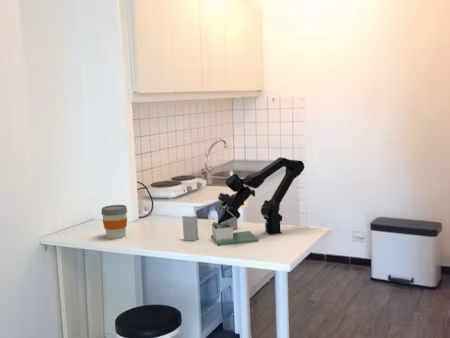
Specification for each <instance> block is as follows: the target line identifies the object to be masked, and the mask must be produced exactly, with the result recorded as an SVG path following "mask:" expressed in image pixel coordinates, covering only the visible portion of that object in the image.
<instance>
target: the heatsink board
mask: <svg viewBox="0 0 450 338" xmlns="http://www.w3.org/2000/svg"><path fill="white" fill-rule="evenodd" d="M228 224H229V223H228ZM211 239H212V240H213V241H214V243H215V244H216V245H217V246H228V245H237V244H239V245H240V244H247V243H256V242H259V239H258V238H257V236H255V235H254V234H253V233H252V232H251V231H250V230H248V231H238V232H237V231H236V232H234V230H233V227H232V226H231V225H230V224H229V225H228V226H217V225H213V223H211Z"/></svg>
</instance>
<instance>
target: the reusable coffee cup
mask: <svg viewBox="0 0 450 338" xmlns="http://www.w3.org/2000/svg"><path fill="white" fill-rule="evenodd" d="M127 212H128V208H127V205H124V204H111V205H106V206H104V207H102V208H101V215H102V224H103V227H104V230H105V233H106V238H107V239H108V240H119V239H123V238H125V237H126V232H127V231H126V230H127V228H126V227H127V226H128V217H127Z"/></svg>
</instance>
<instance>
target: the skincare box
mask: <svg viewBox="0 0 450 338" xmlns="http://www.w3.org/2000/svg"><path fill="white" fill-rule="evenodd" d="M181 217H182V218H181V219H182V229H183V241H185V242H187V241H189V242H191V241H192V242H196V241H197V240H199V229H198V228H199V227H198V214H194V213H193V214H190V213H188V214H187V213H185V214H183V215H182V216H181Z"/></svg>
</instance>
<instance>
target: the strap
mask: <svg viewBox="0 0 450 338" xmlns="http://www.w3.org/2000/svg"><path fill="white" fill-rule="evenodd" d="M212 224H213V225H217V226H228V225H229V224H228V223H223V222H222V223H220V224H219V223H218V222H212Z"/></svg>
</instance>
